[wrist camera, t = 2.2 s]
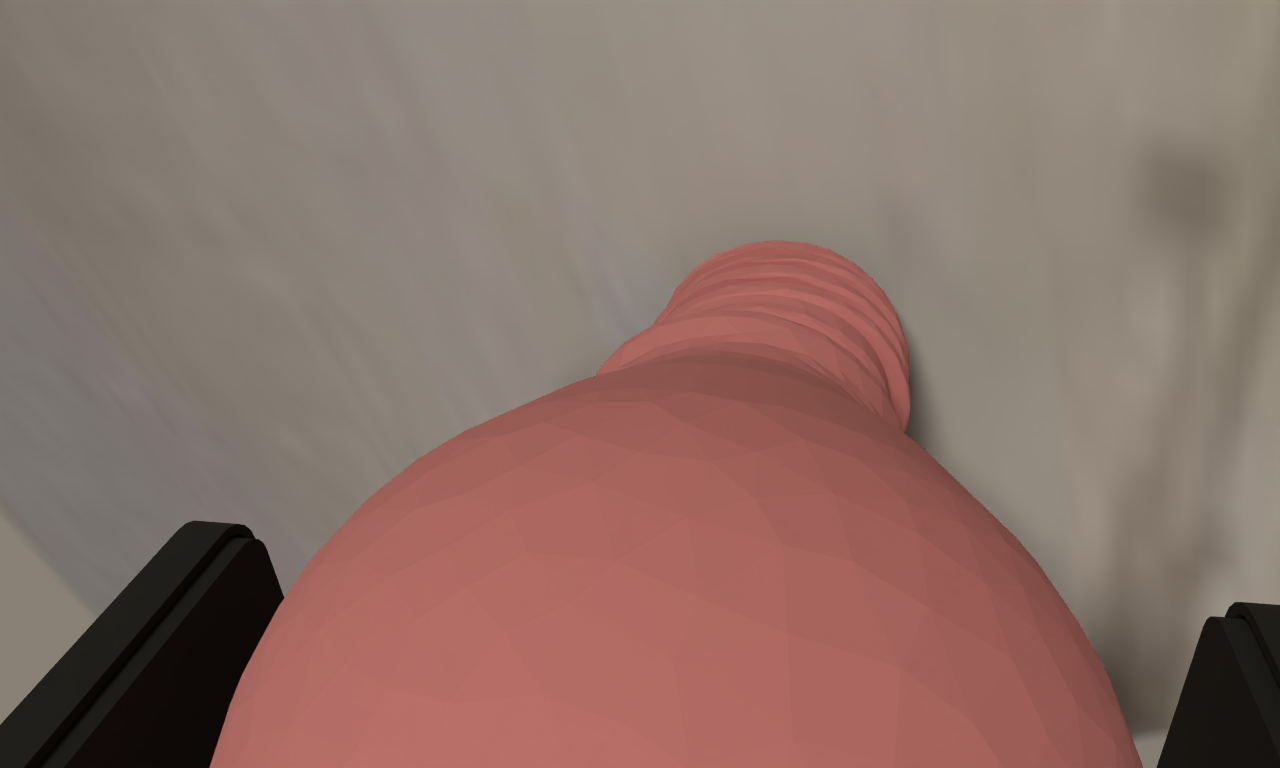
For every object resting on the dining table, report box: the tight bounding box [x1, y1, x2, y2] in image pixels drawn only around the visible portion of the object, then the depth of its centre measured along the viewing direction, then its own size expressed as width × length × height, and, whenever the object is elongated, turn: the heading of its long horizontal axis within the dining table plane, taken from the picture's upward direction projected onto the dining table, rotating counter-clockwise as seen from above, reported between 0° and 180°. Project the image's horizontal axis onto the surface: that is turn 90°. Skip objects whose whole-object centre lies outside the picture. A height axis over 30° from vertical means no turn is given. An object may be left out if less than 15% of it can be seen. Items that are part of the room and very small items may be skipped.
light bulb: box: [210, 241, 1143, 768], centre depth 10 cm, size 7×7×12 cm
